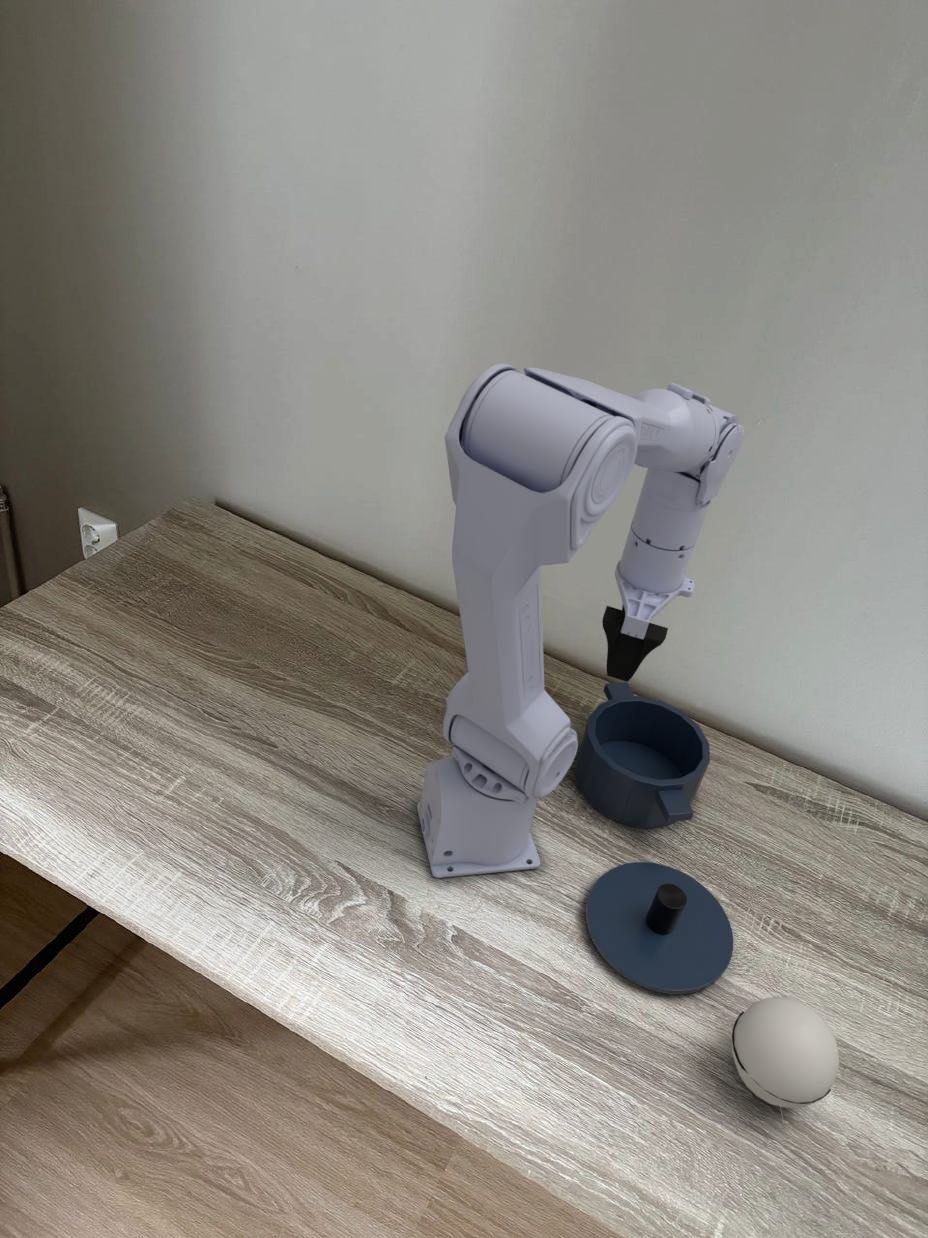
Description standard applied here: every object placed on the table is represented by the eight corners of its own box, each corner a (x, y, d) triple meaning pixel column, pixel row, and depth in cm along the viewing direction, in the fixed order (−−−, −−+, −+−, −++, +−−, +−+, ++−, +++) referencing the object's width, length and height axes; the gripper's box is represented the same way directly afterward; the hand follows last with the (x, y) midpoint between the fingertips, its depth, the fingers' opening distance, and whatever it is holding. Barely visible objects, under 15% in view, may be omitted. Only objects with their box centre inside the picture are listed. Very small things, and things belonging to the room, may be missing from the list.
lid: (612, 1008, 75) (627, 973, 72) (565, 876, 84) (577, 841, 81) (754, 988, 78) (774, 954, 75) (694, 863, 87) (709, 829, 84)
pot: (606, 857, 86) (622, 813, 83) (552, 723, 99) (564, 679, 95) (722, 846, 89) (743, 803, 86) (655, 717, 102) (670, 675, 98)
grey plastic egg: (729, 1012, 76) (760, 959, 71) (823, 1058, 74) (861, 1006, 70) (697, 1128, 68) (730, 1077, 64) (802, 1183, 67) (843, 1133, 62)
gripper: (700, 590, 78) (655, 713, 86) (717, 505, 89) (676, 621, 98) (614, 565, 79) (578, 689, 87) (642, 484, 90) (607, 601, 99)
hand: (625, 652), depth 93 cm, fingers open, 7 cm apart
